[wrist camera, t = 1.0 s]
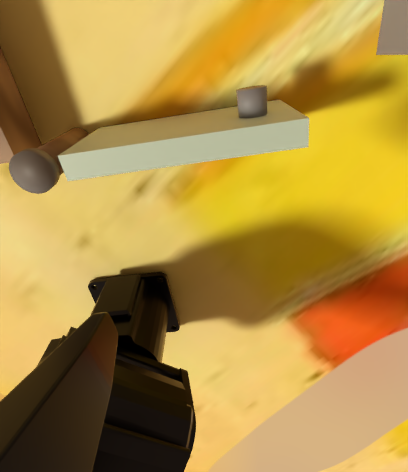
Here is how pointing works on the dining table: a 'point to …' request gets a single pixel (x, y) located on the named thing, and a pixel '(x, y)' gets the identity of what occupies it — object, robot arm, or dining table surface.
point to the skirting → (13, 118)
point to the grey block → (394, 28)
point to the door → (189, 138)
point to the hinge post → (43, 162)
